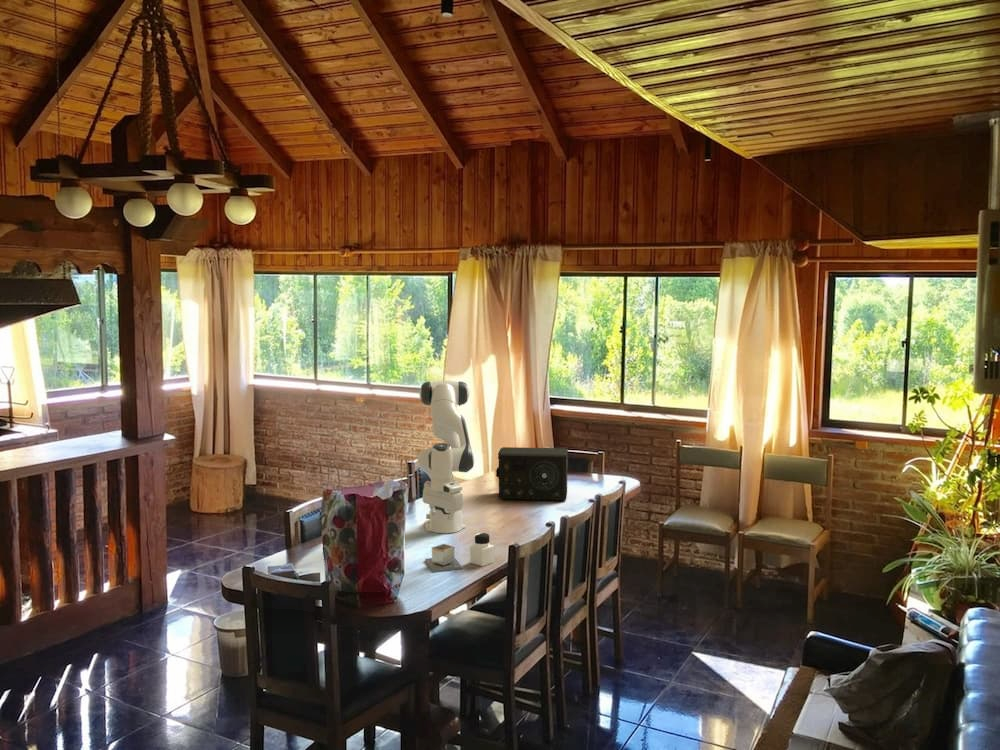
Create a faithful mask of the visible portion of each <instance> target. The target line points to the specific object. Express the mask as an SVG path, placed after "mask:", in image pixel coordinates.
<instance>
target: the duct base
mask: <svg viewBox="0 0 1000 750" xmlns="http://www.w3.org/2000/svg"><path fill="white" fill-rule="evenodd" d="M424 562H425V563H426V565H427V566H428V568H429V569H430V571H431V572H432V573H436V572H437V573H438V572H439V573H440V572H446V571H447V572H449V571H454V570H455V571H457V570H462V569H463V566H462V565H461V564H460V563H459V561H458V560H457V558H456V557H454V562H451V563H448V564H445V565H441V564H438V563H434V562H432V557H429V558H428V557H427V558H424Z"/></svg>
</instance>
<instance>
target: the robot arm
mask: <svg viewBox="0 0 1000 750" xmlns="http://www.w3.org/2000/svg"><path fill="white" fill-rule="evenodd" d="M469 388H470V387H469V386H468V384H467V383H466V382H464V381H459V380H458V381H453V380H444V381H442V380H441V381H440V380H438V381H425V382H423V383H422V384H421V386H420V388H419V393H418V394H419V398H420V401H421V403H422V404H423V405H426V406H430V416H431V419H432V433H433V435H434V437H436V438H437V439H439V440H441V441H443V442H441V443H440V442H439V443H435V444H434V445H432V447H429V448H426V449H423V450H420V451H419V453H418V456H417V464H418V467H419V468H420V469H421V471H423V472H424V473H426V474H427V475H428V477H429V479H430V480H426V481H425V482H424V484H423V490H422V502H423V503H424V504H427V505H428V507H429V509H430V510H429V513H426V514H425V517H426V520H425V521H424V529H425V532H428V533H430V532H431V533H435V534H453V533H457V532H459V531H461V530H463V529H465V528H466V525H465V524H464V523H463V518H462V515H463V513H462V509H463V507H464V504H463V503H464V500H463V499H464V498H463V497H464V496H463V492H462V491H463V486H462V485H461V484H460V483H459V482H457V481H456V480H455V479H454V475H453V472H459V473H468V472H469V471H471V470H472V469H473V468H474V464H475V457H474V452H473V451H472V446H471V442H470V437H469V432H468V427H467V423H466V420H465V417H464V416H463V415H462V414H460V413H459V411H458V409H457V407H458V406H459V407H460V406H462V405H465V404H466V403H467V402H468V400H469V398H470V389H469Z"/></svg>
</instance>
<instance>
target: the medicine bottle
mask: <svg viewBox="0 0 1000 750" xmlns="http://www.w3.org/2000/svg"><path fill="white" fill-rule="evenodd" d="M469 548H470V549H469V551H470V553H469V554H470V557H469V558H470V560H469V561H470V563H471V564H474V565H476V566H477V565H478V566H481V567H485V566H487V565H490V564H493V563H494V562H495V546H494V545H493V544H490V534H489V533H486V532H478V533H476V534H475V535H474V544H473V545H470V547H469Z"/></svg>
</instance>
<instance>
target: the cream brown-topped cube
mask: <svg viewBox="0 0 1000 750" xmlns="http://www.w3.org/2000/svg"><path fill="white" fill-rule="evenodd" d="M455 548H456V547H455V546H452V545H449V544H445V543H442V544H438V545H436V546H432V547H431V558H432V562H434V563H438V564H441V565H445V564H448V563H451V562H454V558H455Z"/></svg>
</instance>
